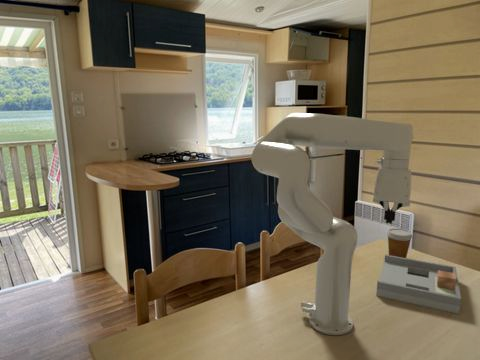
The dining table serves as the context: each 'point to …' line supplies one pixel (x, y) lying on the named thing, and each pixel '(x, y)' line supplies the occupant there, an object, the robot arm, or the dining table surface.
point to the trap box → (417, 284)
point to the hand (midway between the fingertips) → (389, 222)
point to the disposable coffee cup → (398, 242)
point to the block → (446, 280)
